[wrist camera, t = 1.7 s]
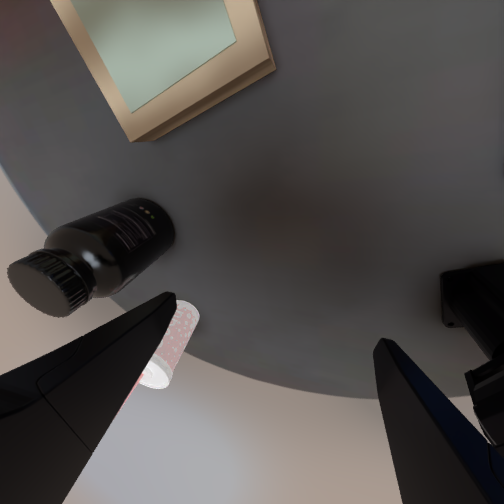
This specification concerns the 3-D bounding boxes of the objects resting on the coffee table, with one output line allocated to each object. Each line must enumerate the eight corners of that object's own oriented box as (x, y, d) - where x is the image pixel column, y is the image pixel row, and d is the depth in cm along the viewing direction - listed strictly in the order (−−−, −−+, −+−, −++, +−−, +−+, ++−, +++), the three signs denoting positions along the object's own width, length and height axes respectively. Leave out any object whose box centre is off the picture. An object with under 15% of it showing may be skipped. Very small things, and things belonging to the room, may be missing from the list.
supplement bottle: (162, 261, 27) (73, 341, 17) (116, 226, 26) (-9, 289, 16) (186, 225, 23) (91, 297, 13) (133, 182, 22) (-13, 227, 12)
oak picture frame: (276, 69, 15) (268, 56, 13) (153, 140, 20) (129, 142, 17) (196, -215, 11) (157, -329, 8) (60, -37, 15) (7, -72, 13)
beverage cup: (210, 309, 29) (141, 432, 17) (197, 333, 33) (132, 449, 21) (170, 288, 29) (73, 397, 17) (161, 314, 32) (75, 421, 21)
